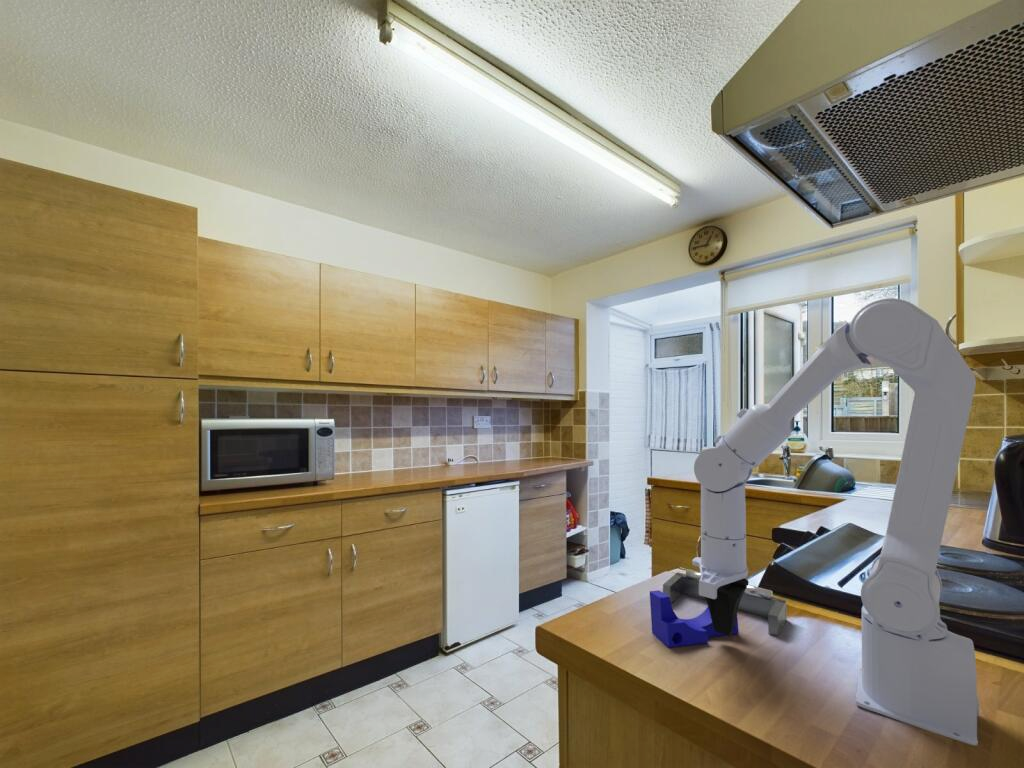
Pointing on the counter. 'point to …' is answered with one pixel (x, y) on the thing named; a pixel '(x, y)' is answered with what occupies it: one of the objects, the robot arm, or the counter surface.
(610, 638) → the counter surface
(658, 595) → the blue pipe saddle
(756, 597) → the hinge bracket
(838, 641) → the counter surface
